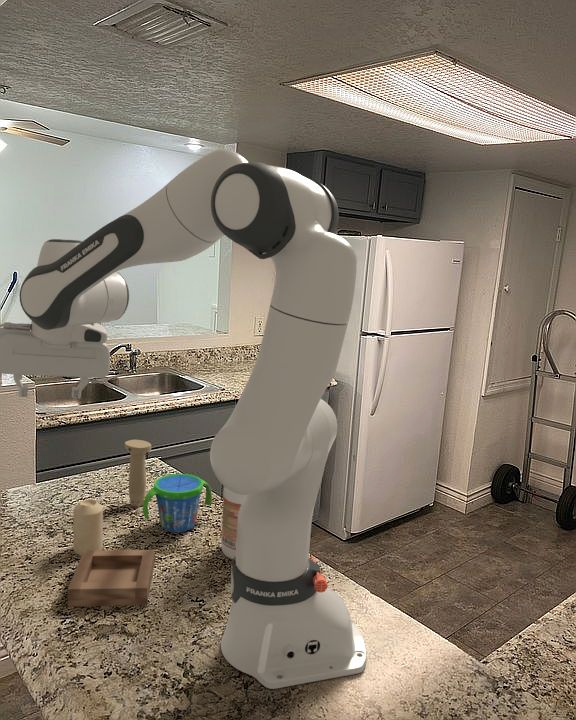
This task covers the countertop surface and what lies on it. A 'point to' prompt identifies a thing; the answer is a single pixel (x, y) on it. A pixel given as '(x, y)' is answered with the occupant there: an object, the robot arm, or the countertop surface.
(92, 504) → the candle
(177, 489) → the snack cup
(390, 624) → the countertop surface
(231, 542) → the fruit juice
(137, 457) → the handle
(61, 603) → the countertop surface
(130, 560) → the brown shallow square tray
